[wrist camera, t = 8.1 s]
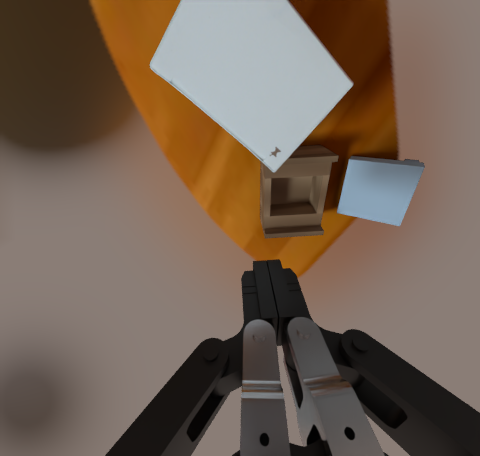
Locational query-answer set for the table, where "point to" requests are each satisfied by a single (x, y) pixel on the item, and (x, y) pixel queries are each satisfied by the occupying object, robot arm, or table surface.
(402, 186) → the lid
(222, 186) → the table surface
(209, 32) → the small box
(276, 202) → the case
